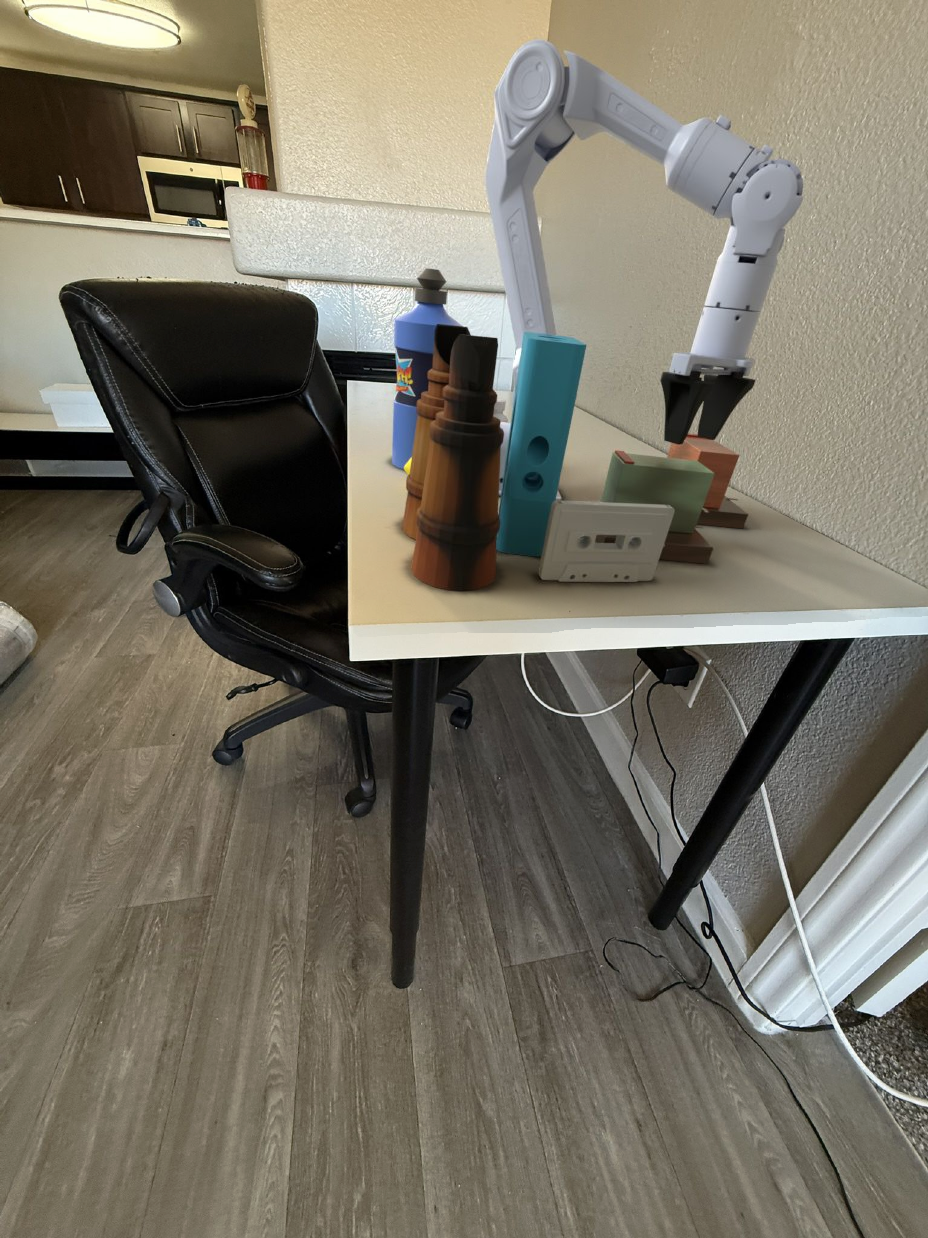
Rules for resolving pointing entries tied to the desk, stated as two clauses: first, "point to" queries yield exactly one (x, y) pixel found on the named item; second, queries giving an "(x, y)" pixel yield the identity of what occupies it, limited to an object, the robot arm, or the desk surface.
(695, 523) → the green box
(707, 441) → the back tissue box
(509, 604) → the desk surface
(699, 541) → the front stand
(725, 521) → the back stand
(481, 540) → the binoculars
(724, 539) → the desk surface
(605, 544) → the cassette
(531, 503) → the block
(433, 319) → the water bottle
